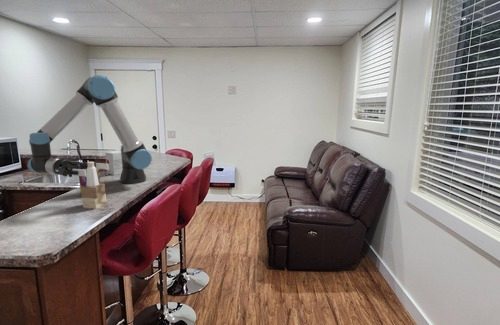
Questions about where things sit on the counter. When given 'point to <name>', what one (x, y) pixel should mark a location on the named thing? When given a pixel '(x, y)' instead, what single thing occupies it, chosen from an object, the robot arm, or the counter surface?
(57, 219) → the counter surface
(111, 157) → the supplement box
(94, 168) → the salt shaker
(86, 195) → the tower top
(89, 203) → the tower bottom
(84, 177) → the candy box
